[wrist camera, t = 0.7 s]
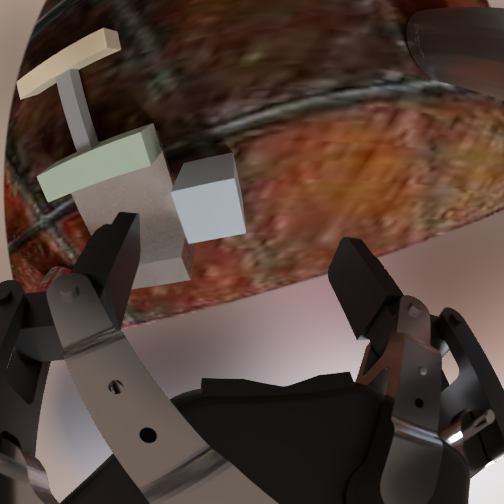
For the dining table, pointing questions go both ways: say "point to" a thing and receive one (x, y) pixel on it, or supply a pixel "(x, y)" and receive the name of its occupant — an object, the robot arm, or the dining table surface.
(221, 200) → the block
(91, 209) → the frame
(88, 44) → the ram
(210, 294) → the dining table surface
